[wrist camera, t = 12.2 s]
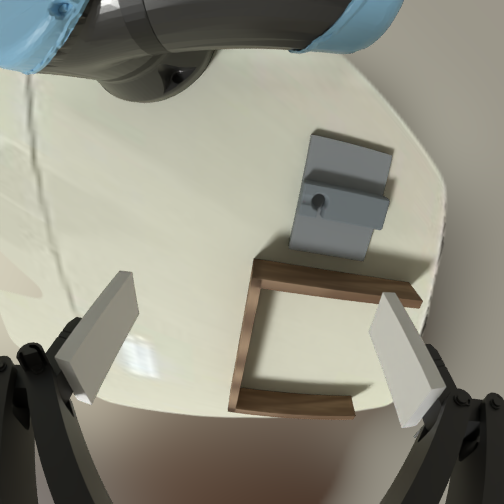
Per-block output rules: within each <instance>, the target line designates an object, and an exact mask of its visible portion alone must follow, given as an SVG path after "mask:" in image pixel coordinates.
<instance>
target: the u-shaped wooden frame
mask: <svg viewBox="0 0 504 504" xmlns="http://www.w3.org/2000/svg"><path fill="white" fill-rule="evenodd" d="M261 288H263V289H270V290H277V291H283V292H290V293H297V294H304V295H311V296H319V297H326V298H334V299H341V300H349V301H357V302H365V303H374V304H379V302H380V299H381V296H382V293H383V292H391V293H396V295H397V297H398V298H399V300H400V302H401V303H402V305H403V307H409V308H420V306H421V304H422V302H423V301H422V299H421V298H420V296H419V295H418V294H417V292H416V291H415V290H414V288H413V287H412V286H411V284H410V283H409V282H402V281H395V280H389V279H382V278H376V277H369V276H363V275H356V274H350V273H343V272H337V271H330V270H324V269H318V268H311V267H305V266H299V265H292V264H286V263H280V262H273V261H267V260H261V259H255V258H254V260H253V266H252V272H251V277H250V283H249V289H248V294H247V300H246V306H245V311H244V317H243V323H242V328H241V334H240V340H239V345H238V351H237V356H236V362H235V368H234V373H233V379H232V384H231V390H230V398H229V405H228V412H235V413H243V414H251V415H260V416H270V417H282V418H298V419H328V420H329V419H331V420H336V419H337V420H339V419H341V420H342V419H343V420H345V419H346V420H347V419H354V417H355V416H356V415H355V411H354V407H353V402H352V398H351V396H332V395H310V394H296V393H283V392H273V391H264V390H255V389H247V388H240V386H241V381H242V376H243V372H244V367H245V362H246V357H247V353H248V348H249V343H250V338H251V333H252V329H253V324H254V319H255V314H256V309H257V304H258V299H259V294H260V289H261Z"/></svg>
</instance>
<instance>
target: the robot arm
mask: <svg viewBox="0 0 504 504" xmlns="http://www.w3.org/2000/svg"><path fill="white" fill-rule="evenodd" d="M403 1H404V0H0V67H1V68H3V69H8V70H14V71H19V72H22V73H24V74H27V75H29V74H35V73H42V74H54V75H63V76H72V77H79V78H86V79H93V80H97V81H98V82H99V83H100V84H101V85H102V87H103V88H104V89H105V90H106V91H108V92H109V93H110V94H112V95H113V96H115V97H117V98H120V99H122V100H126V101H131V102H139V103H150V102H157V101H161V100H165V99H168V98H170V97H172V96H175V95H177V94H178V93H180V92H182V91H183V90H185V89H186V88H188V87H189V86H190V85H191V84H192V83H193V82H195V81H196V80H197V79H198V77H199V76H200V75H201V74H202V73H203V71H204V70H205V68H206V67H207V65H208V63H209V61H210V59H211V57H212V55H213V51H214V49H283V50H288V51H289V52H291V53H298V54H300V53H305V52H309V51H312V52H325V53H336V54H350V53H354V52H356V51H359V50H361V49H365V48H367V47H369V46H370V45H372V44H373V43H374V42H375V41H377V40H378V39H379V38H380V37H381V36H382V35H383V34H384V33H385V31H386V30H387V29H388V28H389V26H390V25H391V23H392V22H393V20H394V18H395V17H396V15H397V13H398V12H399V9H400V8H401V6H402V4H403ZM138 315H139V310H138V304H137V299H136V293H135V287H134V280H133V274H132V272H127V271H119V272H118V273H117V275H116V276H115V277H114V278H113V279H112V281H111V282H110V283H109V284H108V286H107V287H106V288H105V289H104V291H103V292H102V293H101V294H100V296H99V297H98V298H97V299H96V301H95V302H94V303H93V305H92V306H91V307H90V309H89V310H88V311H87V313H86V314H85V315H84V316H83V318H79V317H76V318H74V319H73V320H71V321H70V322H69V323H68V324H67V325H66V326H65V328H64V329H63V332H61V333H60V334H59V337H57V338H56V340H55V341H54V342H53V344H52V345H51V346H50V348H49V349H48V351H47V352H46V353H45V352H44V350H43V348H42V346H41V345H40V344H38V343H34V342H33V343H28V344H26V345H24V346H22V347H21V348H20V349H19V351H18V352H17V359H18V361H19V363H20V365H14V364H13V362H12V361H11V359H10V358H9V357H8V356H0V504H38V497H37V488H36V475H35V448H34V447H35V445H34V444H35V441H36V445H37V449H38V453H39V457H40V461H41V464H42V467H43V471H44V474H45V477H46V480H47V484H48V486H49V489H50V492H51V495H52V497H53V500H54V503H55V504H113V503H112V501H111V499H110V497H109V495H108V493H107V491H106V489H105V487H104V485H103V483H102V481H101V478H100V476H99V474H98V472H97V470H96V467H95V465H94V463H93V460H92V458H91V455H90V453H89V450H88V448H87V445H86V442H85V440H84V437H83V434H82V432H81V429H80V426H79V423H78V420H77V417H76V413H75V410H74V407H73V404H72V401H71V399H70V397H71V395H72V393H74V395H75V396H76V398H77V400H79V401H82V402H85V403H88V404H91V405H92V403H93V401H94V399H95V397H96V395H97V393H98V391H99V389H100V387H101V385H102V383H103V381H104V379H105V377H106V375H107V373H108V371H109V369H110V367H111V365H112V363H113V361H114V359H115V358H116V356H117V354H118V352H119V350H120V348H121V346H122V344H123V342H124V341H125V339H126V337H127V335H128V333H129V331H130V330H131V328H132V326H133V324H134V322H135V321H136V319H137V317H138ZM369 334H370V337H371V340H372V342H373V345H374V348H375V350H376V353H377V356H378V358H379V361H380V364H381V367H382V369H383V372H384V375H385V378H386V381H387V384H388V387H389V390H390V393H391V396H392V399H393V402H394V405H395V408H396V411H397V414H398V417H399V421H400V424H401V427H402V428H405V427H411V426H416V425H417V424H418V423H419V421H420V420H421V419H422V418H423V421H424V425H423V426H422V427H421V429H420V430H419V431H418V432H417V433H416V434H415V435H414V438H416V437H417V438H416V440H415V443H414V445H413V447H412V449H411V451H410V453H409V455H408V457H407V458H406V460H405V462H404V464H403V466H402V468H401V469H400V471H399V473H398V475H397V476H396V478H395V480H394V482H393V483H392V485H391V487H390V488H389V490H388V491H387V493H386V495H385V496H384V498H383V499H382V501H381V502H380V504H439V502H440V500H441V497H442V495H443V493H444V491H445V488H446V486H447V484H448V481H449V479H450V483H449V489H448V494H447V499H446V503H445V504H504V400H503V398H502V397H501V396H500V395H499V394H496V393H490V394H488V395H487V396H486V397H485V398H484V400H478V399H472V398H471V396H470V395H469V394H468V393H467V392H466V391H464V390H462V389H457V388H456V385H455V383H454V381H453V380H452V377H451V375H450V374H449V372H448V370H447V368H446V367H445V364H444V362H443V361H442V358H441V357H440V355H439V353H438V351H437V350H436V349H435V348H434V347H433V346H432V345H431V344H424V342H423V341H422V338H421V337H420V335H419V333H418V331H417V329H416V328H415V326H414V324H413V322H412V320H411V319H410V317H409V315H408V314H407V312H406V310H405V308H404V307H403V305H402V303H401V302H400V300H399V298H398V297H397V295H396V293H391V292H383V293H382V296H381V299H380V302H379V305H378V308H377V310H376V313H375V316H374V319H373V321H372V324H371V327H370V329H369ZM417 435H418V436H417ZM34 440H35V441H34ZM450 476H451V477H450Z"/></svg>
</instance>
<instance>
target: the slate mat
mask: <svg viewBox="0 0 504 504" xmlns="http://www.w3.org/2000/svg"><path fill="white" fill-rule="evenodd" d="M391 160H392V155H389V154H386V153H382V152H379V151H375V150H372V149H368V148H365V147H361V146H357V145H354V144H350V143H346V142H342V141H338V140H334V139H330V138H325V137H321V136H316V135H312V134H311V138H310V143H309V148H308V154H307V159H306V164H305V169H304V174H303V179H302V183H303V180H304V179H306V180H312V181H317V182H322V183H327V184H332V185H337V186H342V187H346V188H351V189H356V190H360V191H365V192H369V193H373V194H377V195H382V196H383V193H384V189H385V185H386V181H387V177H388V173H389V168H390V164H391ZM301 188H302V184H301ZM300 195H301V189H300V194H299V199H300ZM299 199H298V203H299ZM324 201H325V197H324V195H322V194H316V195H315V196H314V197H313V198H312V203H313V204H314V205H315V206H317V207H318V209H317V210H318V211H317V216H316V218H312V217H306V216H300V215H299V213H298V210H297V208H298V204H297V208H296V213H295V218H294V222H293V227H292V232H291V236H290V241H289V245H288V246H289V249H293V250H299V251H305V252H311V253H317V254H323V255H329V256H335V257H341V258H347V259H353V260H358V261H364V258H365V255H366V252H367V249H368V245H369V242H370V239H371V236H372V232H373V229H372V228H367V227H361V226H356V225H351V224H346V223H340V222H335V221H329V220H324V219H322V217H321V216H320V212H321V210H320V208H321V207H322V204H323V203H324Z"/></svg>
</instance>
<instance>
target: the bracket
mask: <svg viewBox="0 0 504 504" xmlns="http://www.w3.org/2000/svg"><path fill="white" fill-rule="evenodd" d="M316 194H322V195H324V197H325V201H324V203H323V204H322V207H321V208H320V210H321V212H320V216H321V217H322V219H324V220H329V221H335V222H340V223H346V224H351V225H356V226H361V227H367V228H372V229H377V230H381V229H382V228H383V224H384V221H385V217H386V213H387V210H388V206H389V202H390V201H389V199H388V198H386V197H385V196H382V195H377V194H373V193H369V192H365V191H360V190H356V189H351V188H346V187H342V186H337V185H332V184H327V183H322V182H317V181H312V180H306V179H304V180H303V183H302V188H301V195H300V199H299V203H298V208H297V210H298V213H299V215H300V216H306V217H312V218H316V216H317V211H318V210H317V209H318V207H317V206H315V205H314V204H313V203H312V198H313V197H314V196H315V195H316Z"/></svg>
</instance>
